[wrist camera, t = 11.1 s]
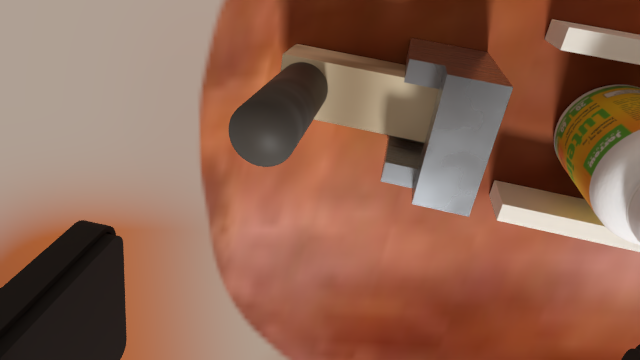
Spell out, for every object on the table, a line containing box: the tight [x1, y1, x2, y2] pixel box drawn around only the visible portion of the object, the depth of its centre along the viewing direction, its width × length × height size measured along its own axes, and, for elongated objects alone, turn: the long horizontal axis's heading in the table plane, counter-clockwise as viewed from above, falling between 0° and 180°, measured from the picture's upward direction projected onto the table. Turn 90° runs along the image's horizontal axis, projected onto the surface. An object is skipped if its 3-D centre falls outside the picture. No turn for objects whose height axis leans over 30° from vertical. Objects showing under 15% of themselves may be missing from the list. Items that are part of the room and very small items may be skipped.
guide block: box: [381, 38, 513, 217], centre depth 23 cm, size 4×6×7 cm
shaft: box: [229, 44, 439, 167], centre depth 22 cm, size 8×3×10 cm, turn 81°
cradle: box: [489, 19, 640, 252], centre depth 24 cm, size 10×10×3 cm
